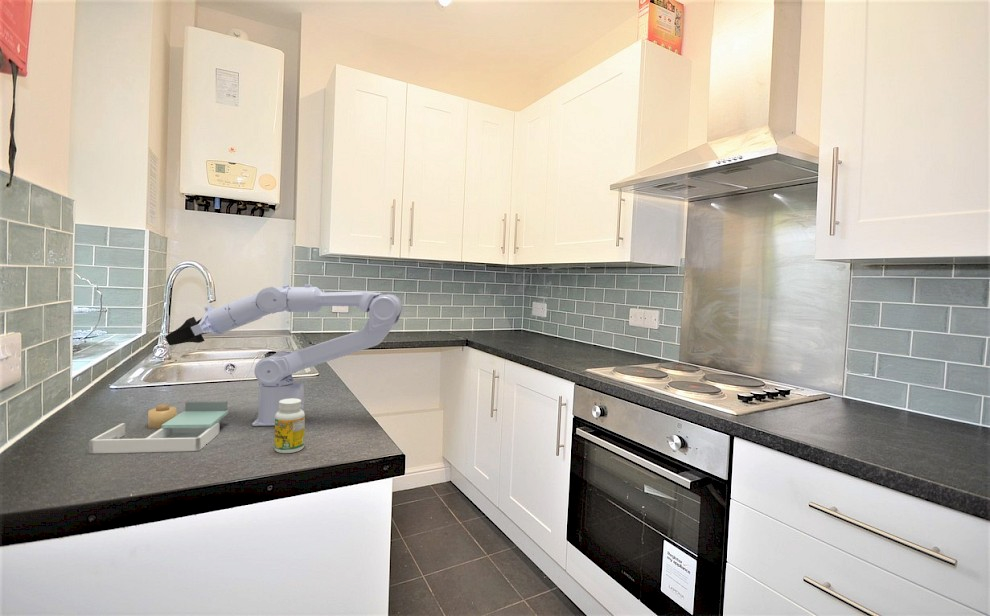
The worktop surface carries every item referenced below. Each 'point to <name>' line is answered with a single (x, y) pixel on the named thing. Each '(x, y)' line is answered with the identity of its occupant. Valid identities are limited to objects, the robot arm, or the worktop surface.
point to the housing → (154, 440)
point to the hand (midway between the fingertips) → (177, 336)
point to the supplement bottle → (289, 426)
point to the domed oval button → (160, 415)
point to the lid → (198, 414)
